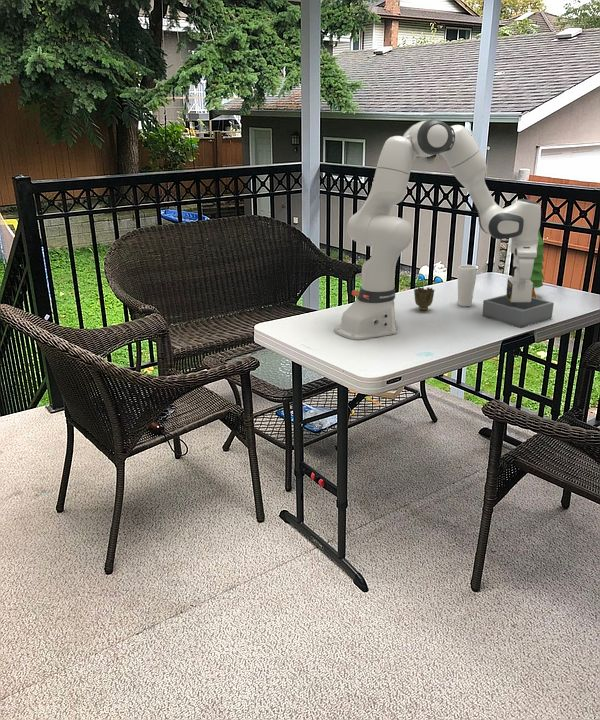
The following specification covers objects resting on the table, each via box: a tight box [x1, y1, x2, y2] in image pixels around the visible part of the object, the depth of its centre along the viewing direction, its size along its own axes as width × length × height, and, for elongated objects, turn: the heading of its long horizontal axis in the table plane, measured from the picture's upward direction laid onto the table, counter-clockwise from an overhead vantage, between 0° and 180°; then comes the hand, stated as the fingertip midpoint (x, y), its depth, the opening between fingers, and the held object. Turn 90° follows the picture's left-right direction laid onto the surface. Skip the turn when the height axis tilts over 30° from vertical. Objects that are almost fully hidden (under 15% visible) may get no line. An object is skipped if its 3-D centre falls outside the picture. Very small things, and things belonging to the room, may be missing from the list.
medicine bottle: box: [505, 266, 533, 302], centre depth 224 cm, size 7×7×12 cm
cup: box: [413, 286, 435, 312], centre depth 238 cm, size 8×7×8 cm
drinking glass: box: [457, 264, 478, 307], centre depth 242 cm, size 7×7×15 cm
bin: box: [481, 294, 555, 329], centre depth 228 cm, size 17×17×6 cm
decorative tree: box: [530, 229, 546, 298], centre depth 247 cm, size 10×9×30 cm
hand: (519, 286), depth 225 cm, fingers closed on medicine bottle, 7 cm apart
